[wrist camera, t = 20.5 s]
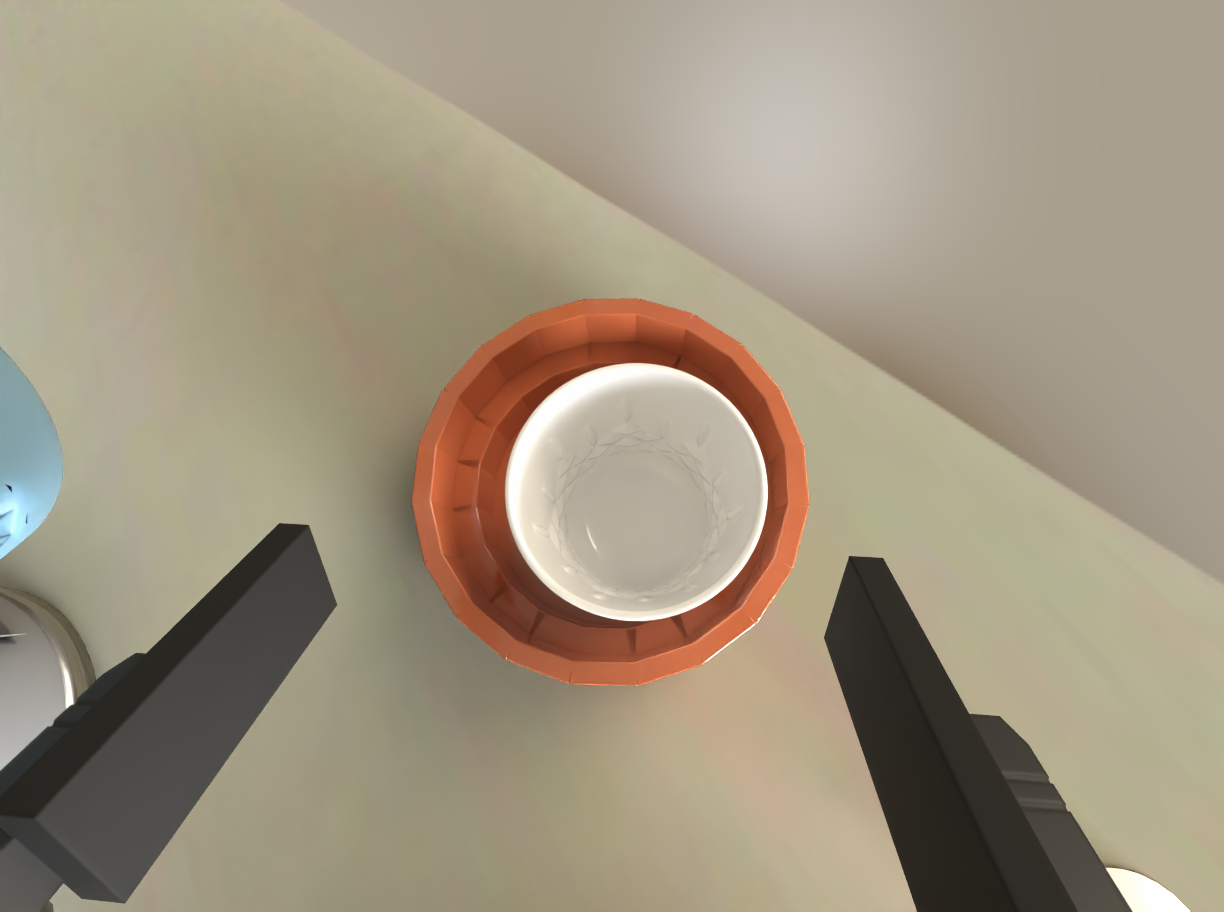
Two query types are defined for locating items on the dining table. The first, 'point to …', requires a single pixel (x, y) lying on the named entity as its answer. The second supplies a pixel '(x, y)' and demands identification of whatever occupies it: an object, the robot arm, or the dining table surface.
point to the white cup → (636, 492)
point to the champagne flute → (1144, 893)
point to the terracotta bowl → (476, 510)
